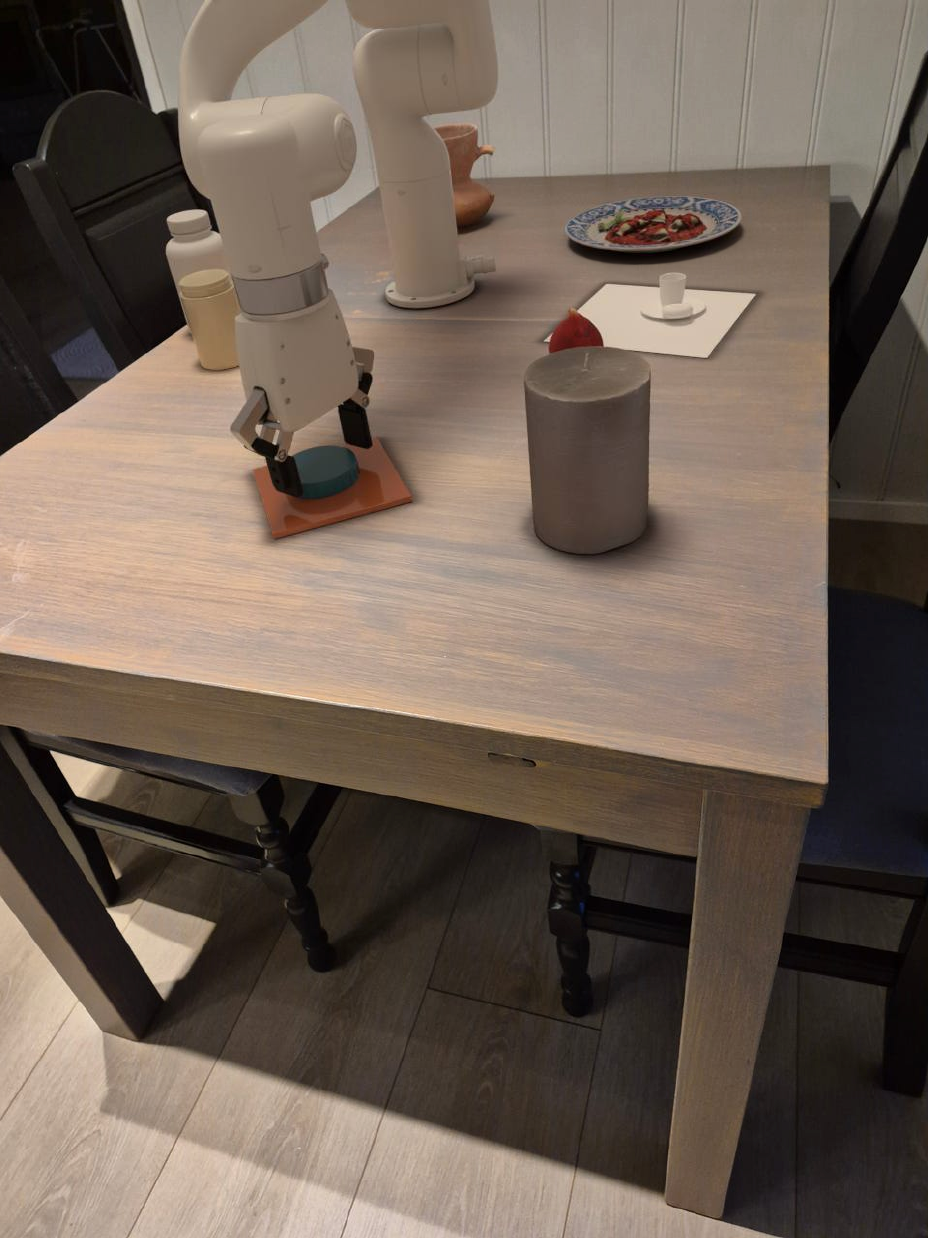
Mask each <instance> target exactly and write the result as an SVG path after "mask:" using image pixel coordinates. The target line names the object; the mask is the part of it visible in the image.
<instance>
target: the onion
mask: <svg viewBox="0 0 928 1238" xmlns="http://www.w3.org/2000/svg"><path fill="white" fill-rule="evenodd" d="M577 310H578V309H576V308H574V307H570V308H569V309H568V314H567V317H565V319H563V320H562V321H561V322H560V323H558V325H557V326H556V327H555V329H554V331H552V333H553V334H552V333H551V334H552V336H551V339H550V342H548V354H550V353H554V352H558V351H561V350H565V349H571V348H576V347H589V346H602V347H604V344H603V339H602V336H601V333H600V332H599V330H598V329H597V328H596V326H595V325H594V324H593V323H592V322H591V321H590V320H589V319H587V318H585V317H583V316H582V315H581V314H579V313H578V312H577Z"/></svg>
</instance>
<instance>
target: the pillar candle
mask: <svg viewBox="0 0 928 1238" xmlns="http://www.w3.org/2000/svg"><path fill="white" fill-rule="evenodd" d="M651 380H652V369H651V365H650V363H649V362H648V360H647V359H646V358H644V357H643V356H642V355H641V354H640V353H637V352H634V351H632V350H625V349H620V348H613V347H602V346H589V347H576V348H571V349H565V350H561V351H558V352H554V353H550V354H549V353H548V354H546V355H544V356H541V357H540V358H537V359H535V361H533V362H531V364H530V365H529V366H527V368H526V369H525V371H524V374H523V386H524V403H525V404H524V406H525V418H526V419H525V420H526V433H527V435H526V436H527V449H528V463H529V479H530V493H531V496H530V497H531V507H532V510H531V512H532V524H533V530H534V533H535V535H536V536H537V537H538V538H539V540H541V541H542V542H543V543H545V544H546V545H548V546H549V547H551V548H553V549H555V550H559V551H562V552H566V553H570V554H571V553H572V554H577V555H583V554H584V555H596V554H601V553H605V552H607V551H611V550H613V549H616V548H620V547H622V546H625V545H628V544H630V543H631V544H632V543H633V542H634V541H636V540H637V539H638V538H640V537H641V536H642V534H644V531H645V530H646V527H647V524H648V511H649V499H650V498H649V493H650V492H649V491H650V489H649V487H650V429H651V428H650V425H651V424H650V422H651V385H652V384H651V382H652V381H651Z"/></svg>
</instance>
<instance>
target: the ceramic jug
mask: <svg viewBox="0 0 928 1238" xmlns="http://www.w3.org/2000/svg"><path fill="white" fill-rule="evenodd" d="M432 127H433V128H434V129H435V130H436V131H437V133H438V134H439V135H440V137H441V138H442V140H443V142H444V143H445V146H446V148H447V151H448V154H449V160H450V171H451V180H452V189H453V198H454V207H455V215H456V224H457V229H462V228H466V227H468V226H471V225H473V224H476V223H477V222H478V221H480V220H482V219H483V218H484V217H485V216H486V215H487V214H488V212H489V211H490V209H491V207H492V205H493V203H494V201H495V193H494V192H493V191H489V190H488V188H487V187H486V186H484V185H483V184H481V183H479V182H477V181H476V180H474V179H473V178H471V173H472V170H473V167H474V164H475V162H476V161H478V160H479V159H480V157H482V156H484V155H490V156H491V157H493V154H494V152H495V147H494V146H493V145H491V144H483V145H480V146H479V144H478V142H479V130H478V129H479V128H478V126H477V125H476V124H473V123H449V124H442V125H438V126H432Z"/></svg>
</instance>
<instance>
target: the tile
mask: <svg viewBox="0 0 928 1238" xmlns="http://www.w3.org/2000/svg"><path fill="white" fill-rule="evenodd" d="M372 443H373V446H372V447H371V448H369V449H364V448H360V447H357V446H353V445H349V444H346V445H343V446H342V447H345V448H348V449H350V450H351V451H352V452H353V453H354V454H355V457H356V459H357V462H358V467H359V475H358V478H357V480H356V481H355V483H354V484H353V485H352V486H350V487H349V488H347V489H346V490H344V491H342V492H340V493H338V494H335V495H332V496H329V497H324V498H317V499H303V498H297V497H294V496H291V495H288V494H284V493H281V492H278V491H277V490H276V489H275V487H274V486H273V484H272V480H271V477H270V473H269V470H268V466H267V465H265V466H261V467H258V468H254V469H252V472H253V476H254V479H255V482H256V483H255V484H256V486H257V488H258V489H257V490H258V492H259V495H260V499H261V501H262V502H261V503H262V505H263V508H264V511H265V514H266V517H267V521H268V524H269V528H270V531H271V534H272V537H273V539H274V540H276V539H280V538H283V537H288V536H290V535H291V536H292V535H294V534H299V533H301V532H307V531H308V530H312V529H317V528H320V527H323V526H327V525H331V524H335V523H339V522H342V521H345V520H349V519H352V518H356V517H361V516H364V515H367V514H370V513H375V512H378V511H382V510H386V509H389V508H393V507H396V506H400V505H405V504H407V503H411V502H413V497H412V495H411V493H410V491H409V489H408V488H407V486H406V484H405V482H404V481H403V479H402V477H401V475H399V472H398V471H397V469H396V467H395V465H394V463H393V462H392V461H391V459H390V457H389V456H388V454H387V452H386V450H385V449H384V447H383V445H382V444H381V442H380V440H379V439H378V437H374V438H372Z"/></svg>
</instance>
